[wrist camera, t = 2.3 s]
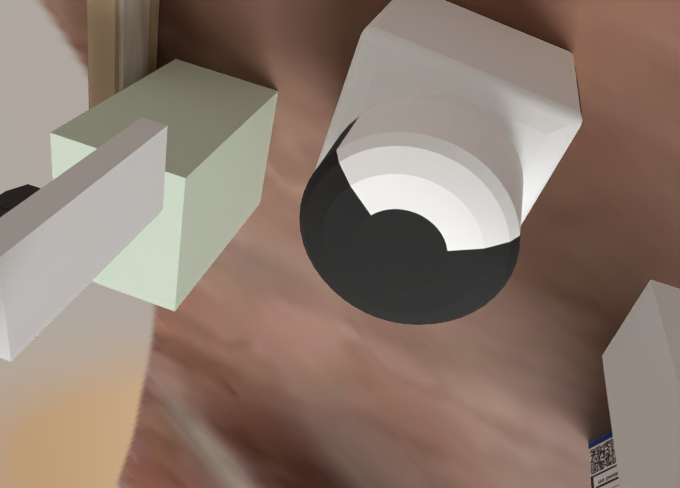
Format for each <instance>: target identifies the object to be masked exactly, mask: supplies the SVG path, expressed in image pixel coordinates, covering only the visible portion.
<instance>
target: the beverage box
mask: <svg viewBox="0 0 680 488" xmlns="http://www.w3.org/2000/svg"><path fill="white" fill-rule="evenodd" d="M588 444H589V458H590V472H591V486H592V488H620V486H619V479H618V471H617V464H616V457H615V449H614V442H613V434H612V431H610V432H609V433H607V434H605V435H603V436H601V437H599V438H597V439H595V440H593V441H592V442H590V443H588Z"/></svg>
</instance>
